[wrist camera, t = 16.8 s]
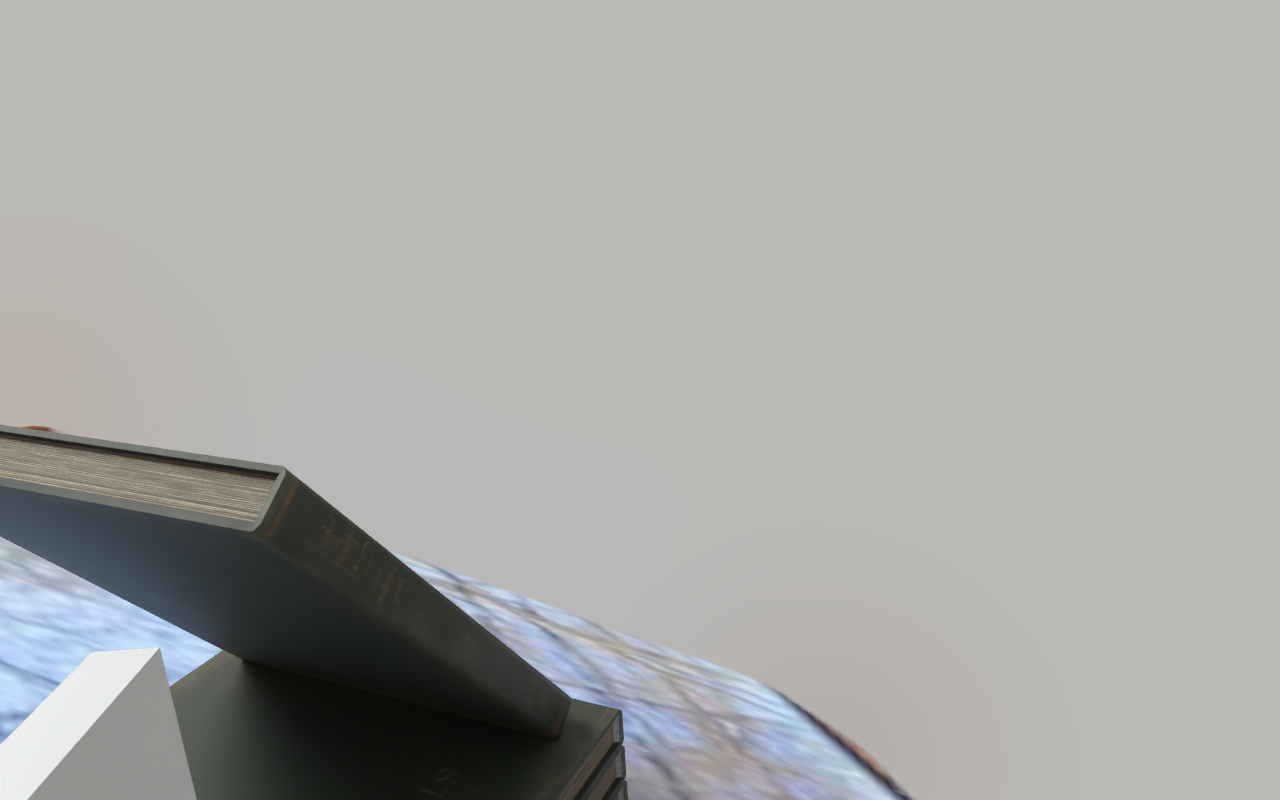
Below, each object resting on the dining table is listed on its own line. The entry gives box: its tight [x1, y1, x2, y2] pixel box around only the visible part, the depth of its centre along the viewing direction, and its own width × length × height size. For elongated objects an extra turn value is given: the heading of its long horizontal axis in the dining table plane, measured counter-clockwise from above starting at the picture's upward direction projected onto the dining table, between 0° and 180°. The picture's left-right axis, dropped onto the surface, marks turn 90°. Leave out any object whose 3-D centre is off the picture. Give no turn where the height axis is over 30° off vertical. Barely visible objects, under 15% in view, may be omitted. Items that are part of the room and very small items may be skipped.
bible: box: [0, 425, 628, 800], centre depth 42 cm, size 23×20×25 cm
